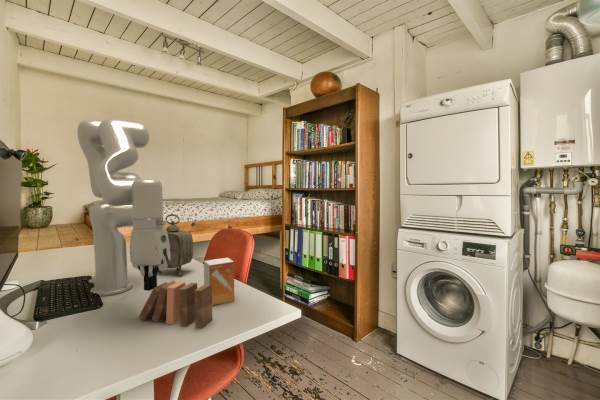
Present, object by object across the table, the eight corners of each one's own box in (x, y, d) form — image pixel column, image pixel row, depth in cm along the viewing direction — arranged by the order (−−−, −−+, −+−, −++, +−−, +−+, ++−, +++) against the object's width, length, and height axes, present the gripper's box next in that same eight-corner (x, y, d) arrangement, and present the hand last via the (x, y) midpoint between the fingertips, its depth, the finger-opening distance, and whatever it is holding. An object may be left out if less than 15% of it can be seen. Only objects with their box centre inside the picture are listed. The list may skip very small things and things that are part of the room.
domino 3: (166, 323, 78) (167, 287, 77) (178, 315, 83) (179, 281, 82) (172, 324, 78) (173, 288, 77) (184, 316, 83) (185, 282, 82)
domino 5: (195, 327, 76) (194, 290, 75) (205, 319, 81) (205, 283, 80) (202, 328, 75) (201, 291, 75) (212, 319, 80) (211, 284, 80)
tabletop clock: (152, 274, 121) (150, 214, 119) (168, 268, 129) (166, 212, 128) (181, 277, 116) (180, 215, 115) (196, 271, 125) (194, 213, 124)
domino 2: (151, 319, 79) (160, 286, 78) (164, 311, 84) (173, 280, 83) (158, 322, 79) (166, 289, 77) (170, 314, 84) (178, 283, 82)
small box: (209, 307, 89) (208, 265, 88) (204, 300, 94) (203, 260, 93) (235, 301, 93) (234, 261, 92) (228, 294, 98) (227, 257, 98)
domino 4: (180, 325, 77) (179, 288, 76) (191, 317, 82) (190, 282, 81) (187, 326, 77) (186, 289, 76) (198, 318, 81) (197, 283, 81)
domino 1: (138, 316, 80) (153, 288, 78) (151, 309, 85) (166, 281, 83) (144, 321, 80) (159, 292, 78) (157, 313, 85) (171, 285, 83)
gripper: (180, 223, 82) (182, 286, 83) (136, 221, 86) (138, 282, 87) (162, 226, 75) (164, 296, 76) (114, 225, 79) (117, 291, 80)
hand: (150, 288), depth 82 cm, fingers closed
